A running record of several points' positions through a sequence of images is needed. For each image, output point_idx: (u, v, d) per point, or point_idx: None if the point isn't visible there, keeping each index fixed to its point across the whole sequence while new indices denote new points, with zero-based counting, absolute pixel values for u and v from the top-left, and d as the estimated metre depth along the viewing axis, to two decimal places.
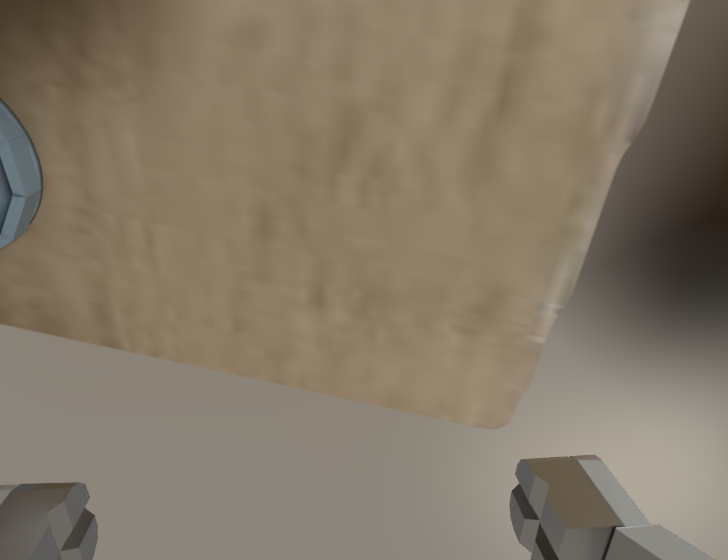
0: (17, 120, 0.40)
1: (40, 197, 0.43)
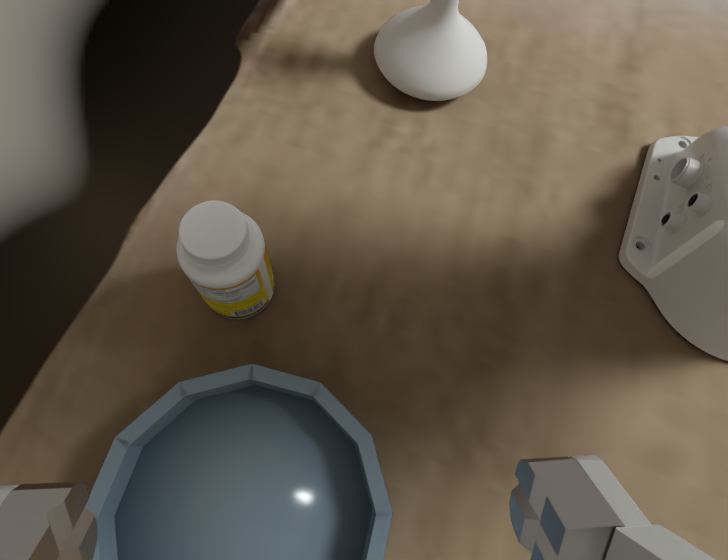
0: None
1: None
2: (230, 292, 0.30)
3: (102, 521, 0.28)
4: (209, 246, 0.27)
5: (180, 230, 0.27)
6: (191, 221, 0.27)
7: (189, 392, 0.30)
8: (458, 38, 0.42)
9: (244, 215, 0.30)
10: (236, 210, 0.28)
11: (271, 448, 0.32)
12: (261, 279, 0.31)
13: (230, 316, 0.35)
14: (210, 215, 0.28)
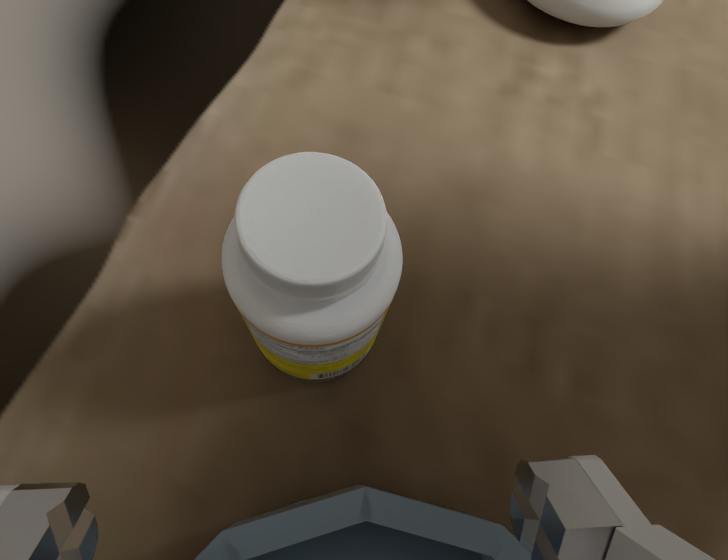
0: None
1: None
2: (331, 349, 0.14)
3: None
4: (308, 254, 0.11)
5: (239, 217, 0.12)
6: (263, 197, 0.12)
7: (244, 554, 0.15)
8: None
9: None
10: (361, 173, 0.12)
11: None
12: None
13: (306, 379, 0.19)
14: (305, 184, 0.12)
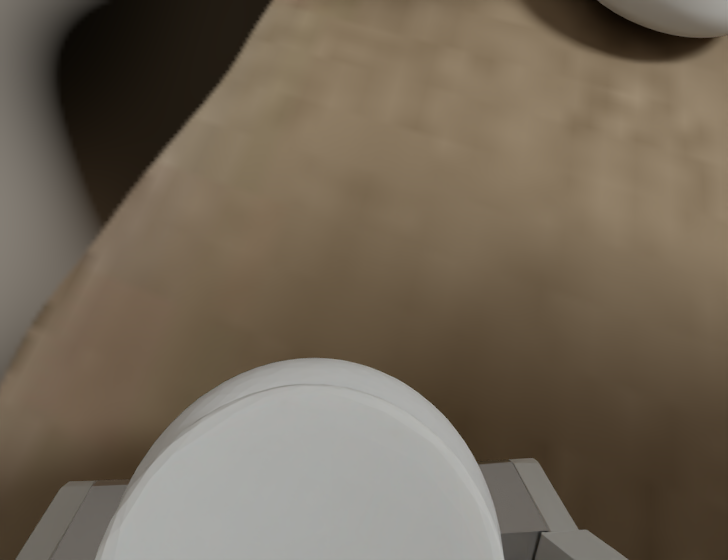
0: None
1: None
2: None
3: None
4: None
5: None
6: (167, 552, 0.04)
7: None
8: None
9: (406, 396, 0.07)
10: (435, 449, 0.05)
11: None
12: None
13: None
14: (286, 495, 0.04)
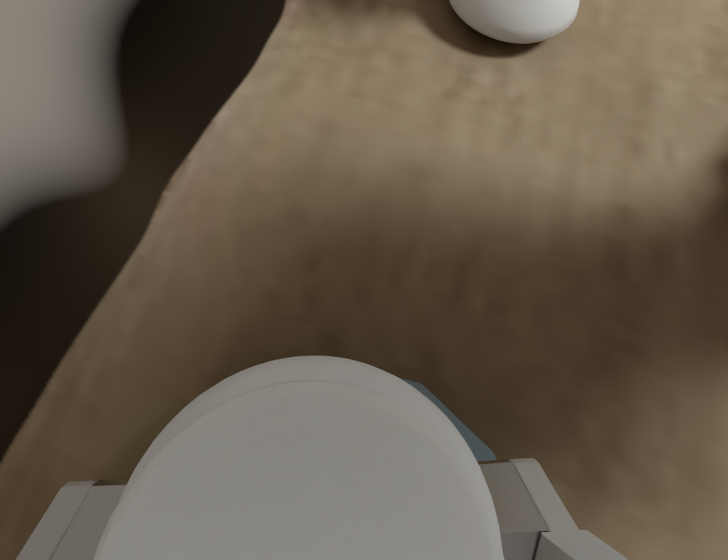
0: None
1: None
2: None
3: None
4: None
5: None
6: (167, 547, 0.04)
7: None
8: None
9: (406, 393, 0.07)
10: (434, 446, 0.05)
11: None
12: None
13: None
14: (286, 491, 0.04)
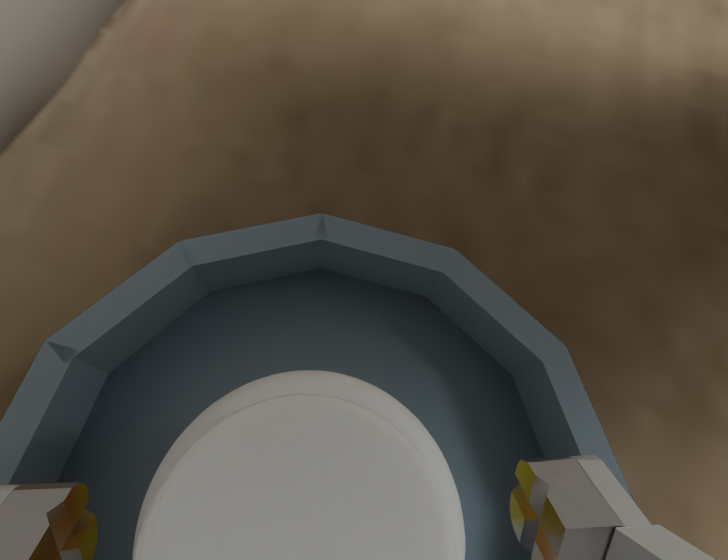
0: None
1: None
2: None
3: None
4: None
5: None
6: (195, 522, 0.06)
7: (201, 259, 0.15)
8: None
9: (386, 402, 0.08)
10: (402, 445, 0.06)
11: None
12: None
13: None
14: (286, 480, 0.06)
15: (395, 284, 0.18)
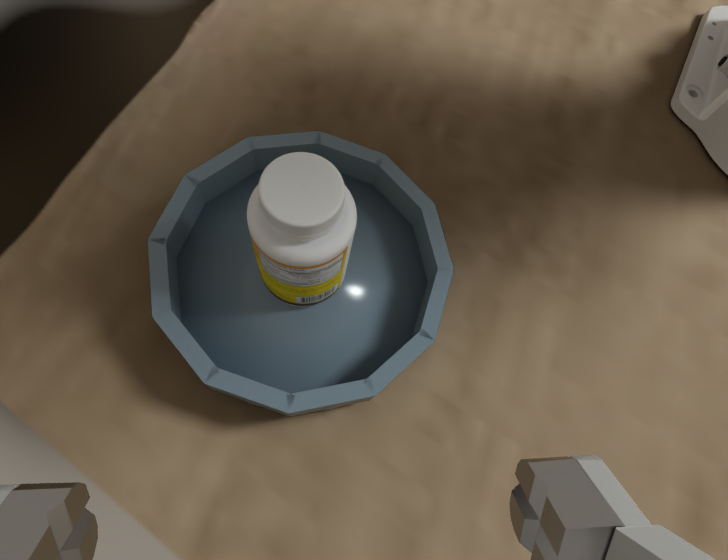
0: None
1: None
2: (309, 272, 0.23)
3: (169, 248, 0.28)
4: (298, 209, 0.21)
5: (261, 186, 0.21)
6: (275, 176, 0.21)
7: (257, 147, 0.30)
8: None
9: None
10: (332, 167, 0.22)
11: None
12: (344, 259, 0.25)
13: (293, 302, 0.28)
14: (299, 170, 0.21)
15: (355, 175, 0.33)
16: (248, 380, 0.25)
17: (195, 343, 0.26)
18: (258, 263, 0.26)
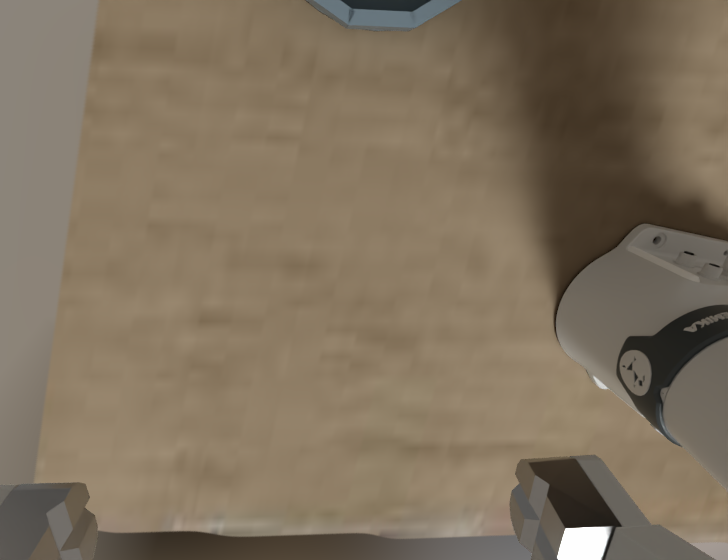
0: None
1: (331, 18, 0.35)
2: None
3: None
4: None
5: None
6: None
7: None
8: None
9: None
10: None
11: None
12: None
13: None
14: None
15: None
16: None
17: None
18: None
